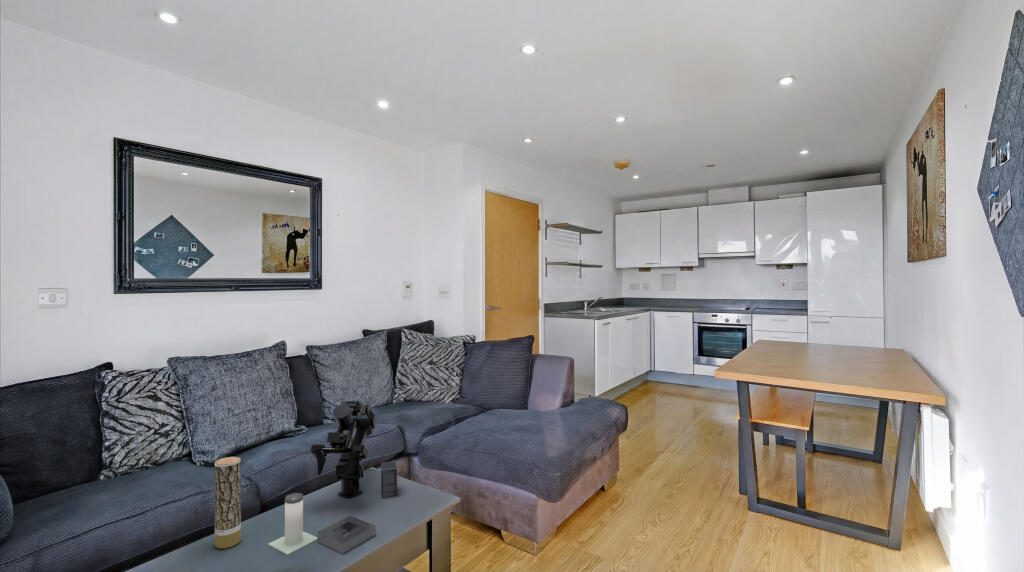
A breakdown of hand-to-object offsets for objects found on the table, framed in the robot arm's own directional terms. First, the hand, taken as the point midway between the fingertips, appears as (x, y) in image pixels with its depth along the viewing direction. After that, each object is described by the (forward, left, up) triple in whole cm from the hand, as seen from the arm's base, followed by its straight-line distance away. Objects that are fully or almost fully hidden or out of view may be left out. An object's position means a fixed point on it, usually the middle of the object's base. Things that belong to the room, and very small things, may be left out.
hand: (332, 475), depth 159 cm
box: (+3, +22, -14) cm, 26 cm away
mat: (+4, -17, -14) cm, 22 cm away
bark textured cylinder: (-12, -28, -14) cm, 33 cm away
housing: (+16, -7, -14) cm, 22 cm away
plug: (+4, -17, -13) cm, 22 cm away
